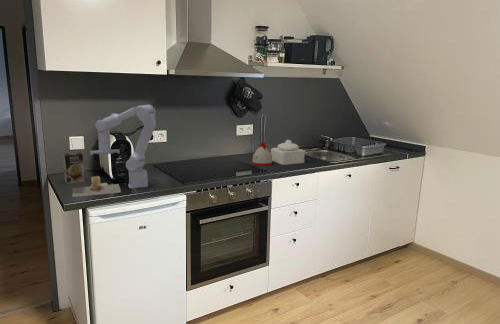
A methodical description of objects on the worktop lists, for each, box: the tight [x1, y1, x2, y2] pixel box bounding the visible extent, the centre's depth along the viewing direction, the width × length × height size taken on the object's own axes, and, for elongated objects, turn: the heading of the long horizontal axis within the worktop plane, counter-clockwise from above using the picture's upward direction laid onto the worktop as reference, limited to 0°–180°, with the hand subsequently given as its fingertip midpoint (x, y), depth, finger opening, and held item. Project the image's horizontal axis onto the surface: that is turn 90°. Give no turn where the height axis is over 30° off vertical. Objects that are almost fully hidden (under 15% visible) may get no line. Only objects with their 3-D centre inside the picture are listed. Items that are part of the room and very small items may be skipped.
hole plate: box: [72, 183, 122, 198], centre depth 194 cm, size 22×11×2 cm, turn 114°
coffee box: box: [62, 152, 86, 185], centre depth 210 cm, size 9×6×16 cm
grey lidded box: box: [270, 139, 306, 166], centre depth 273 cm, size 18×18×16 cm
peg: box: [91, 175, 101, 190], centre depth 194 cm, size 4×4×8 cm
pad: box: [90, 182, 109, 186], centre depth 205 cm, size 8×8×1 cm
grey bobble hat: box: [251, 141, 273, 167], centre depth 265 cm, size 14×14×15 cm
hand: (106, 167), depth 208 cm, fingers open, 7 cm apart
